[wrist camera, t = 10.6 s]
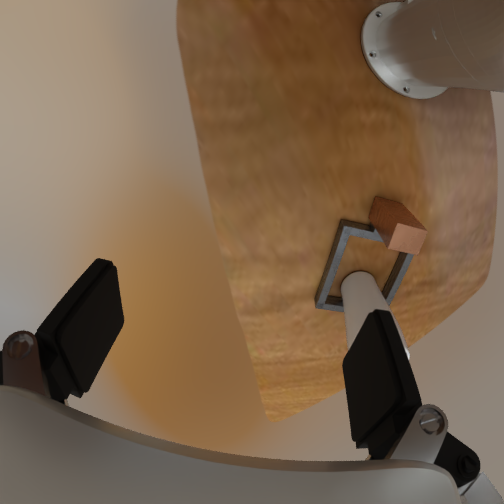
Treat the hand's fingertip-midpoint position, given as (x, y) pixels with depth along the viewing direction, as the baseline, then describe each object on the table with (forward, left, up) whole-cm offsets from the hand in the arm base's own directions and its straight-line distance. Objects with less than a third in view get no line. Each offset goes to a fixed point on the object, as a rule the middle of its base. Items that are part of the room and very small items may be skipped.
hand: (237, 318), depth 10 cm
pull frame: (+10, +16, -26) cm, 32 cm away
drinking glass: (+15, +16, -26) cm, 34 cm away
